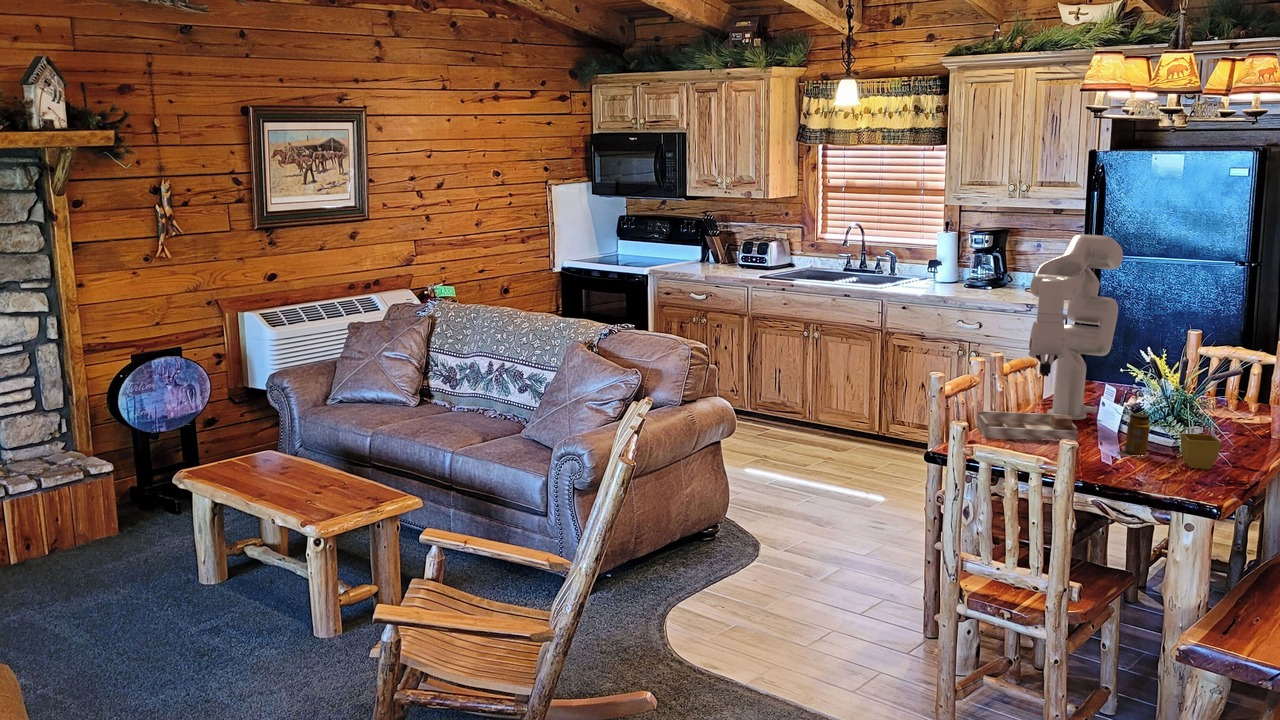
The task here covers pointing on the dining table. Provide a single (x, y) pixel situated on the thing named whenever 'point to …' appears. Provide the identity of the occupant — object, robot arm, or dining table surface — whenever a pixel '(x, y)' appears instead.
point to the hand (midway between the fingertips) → (1044, 375)
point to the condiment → (1137, 435)
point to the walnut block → (1061, 422)
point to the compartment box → (1021, 426)
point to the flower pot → (1199, 450)
